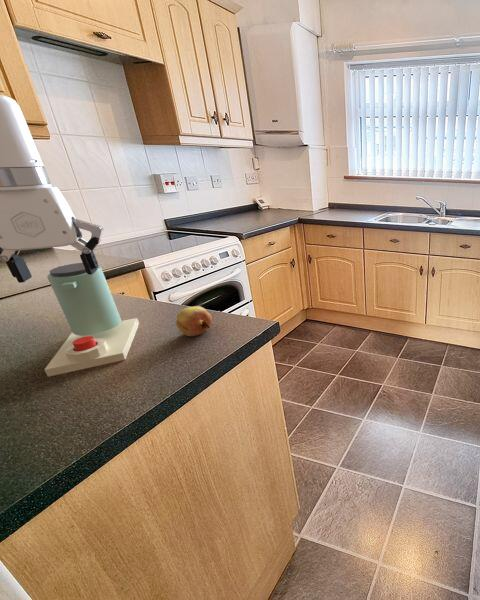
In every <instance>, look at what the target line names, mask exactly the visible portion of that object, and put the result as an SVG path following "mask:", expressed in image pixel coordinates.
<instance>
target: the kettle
mask: <svg viewBox="0 0 480 600" xmlns="http://www.w3.org/2000/svg"><path fill="white" fill-rule="evenodd" d="M46 277H47V280H48V282H49V284H50V286H51V288H52V290H53V293H54V295H55V297H56V299H57V301H58V304H59V307H60V308H61V310H62V312H63V315H64V318H65V319H66V321H67V323H68V326H69V328H70V330H71V333H72V332H73V334H75V335H80V336H84V335H92V334H97V333H101V332H104V331H107V330H110V329H112V328H114V327H116V326H118V325H119V324H120V323H121V321H122V319H121V315H120V312H119V310H118V308H117V305H116V303H115V300H114V297H113V294H112V291H111V289H110V287H109V284H108V282H107V279H106V276H105V274H104V271H103V269H102V266H101V265H99V267H98V268H97V271H96V272H95V273H94V274H90V275H89V274H87V272H86V270H85V267H84V265H83V262H75V263H70V264H69V263H68V264H64V265H61V266H57V267H53V268H52V269H51V270H49V273H48V274H47V276H46Z"/></svg>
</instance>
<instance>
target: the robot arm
mask: <svg viewBox="0 0 480 600" xmlns="http://www.w3.org/2000/svg"><path fill="white" fill-rule="evenodd" d="M48 175H49V174H48V173H47V171H46V168H45V165H44V163H43V160H42V158H41V155H40V153H39V150H38V148H37V146H36V143H35V141H34V138H33V135H32V133H31V131H30V128H29V126H28V123H27V121H26V118H25V116H24V114H23V111H22V109H21V106H20V105H19V103H18V102H17V101H16V100H15V99H13V98H12V97H10V96H7V95H5V94H0V261H1V262H3V263H4V262H5V263H6V265H7V268H8V270H9V272H10V274H11V275H12V277H13V278H16V280H17V282H18V283H19V284H20V283H25V282H26V281H28V280H30V279H31V278H32V273H31V271H30V269H29V267H28V265H27V263H26V261H25V258H24V257H22V256H19V253H20V252H21V251H28V250H41V249H50V248H60V247H61V248H62V247H67V246H71V247H73V248H74V249H76V250H78V251H79V252H81V254H79V257H80V260H81V263H83V265H84V267H85V270H86V272H87V274H89V275H90V274H94V273H95V272H96V271H97V268H98V267H99V266H100V264H99V262H98V260H97V258H96V257H97V256H96V255H95V252H94V250H95V249H96V248H97V246H98V245H99V244H100V242H101V241H102V237H103V233H104V227H103V226H101V225H98V224H95V223H91V222H88V221H84V220H81V219H78V218H76V215H75V214H74V213H73V209H72V208H71V206H70V204H69V203H68V201H67V200H66V198H65V196H64V195H63V193H62V192H61V190H60V189H59V188H58V186H56V185H52V183H51V181H50V178H49V176H48ZM82 230H83V231H87V232H90V234H91V235H90V239H89V240H86V239H85V238H83V233H82Z"/></svg>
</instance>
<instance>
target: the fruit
mask: <svg viewBox="0 0 480 600" xmlns="http://www.w3.org/2000/svg"><path fill="white" fill-rule="evenodd" d="M212 323H213V317H212V315H211V313H209V311H208V310H207V309H206V308H205V307H202V306H199V305H195V306H194V305H193V306H189V307H188V306H187V307H184V308H182V309H180V311H178V313H177V316H176V321H175V324H176V327H177V328H178V329H179V331H180V332H181V333H182V334H183V335H185V336H187V337H197V336H200V335H202V334H203V333H205V332H206V331H207V330H208V329H211V326H212Z"/></svg>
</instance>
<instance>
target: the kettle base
mask: <svg viewBox="0 0 480 600" xmlns="http://www.w3.org/2000/svg"><path fill="white" fill-rule="evenodd" d="M138 325H139V326H140V322H139V319H138V318H137V317H134V318H129V319H123V320H121V323H120V324H119V325H118V326H116V327H114V328H112V329H110V330H107V331H104V332H101V333H97V334H92V335H84V336H80V335H75V334H73V332H72V331H71V333H70V334H69V336H68V337H67V339H65V341H64V343H62V345H61V346H60V348H59V349H58V351H57V352H56V353H55V354H54V356H53V357H52V358H51V360H50V361H49V363H48V364H47V366H45V368H44V372H45V374H46V376H47V378H48V377H53V376H58V375H63V374H66V373H71V372H76V371H81V370H85V369H90V368H94V367H99V366H103V365H108V364H112V363H117V362H121V361H125V360H126V359H127V357H128V354H129V352H130V349H131V347H132V344H133V341H134V338H135V336H136V333H137V331H138V328H139V326H138ZM87 336H92V337H94V340H95V342H96V344H97V345H96V346H94V347H93V348H90V349H87V350H83V351H76V350H75V348H74V346H73V344H72V343H73V341H75V340H77V339H79V338H82V337H87Z"/></svg>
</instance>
